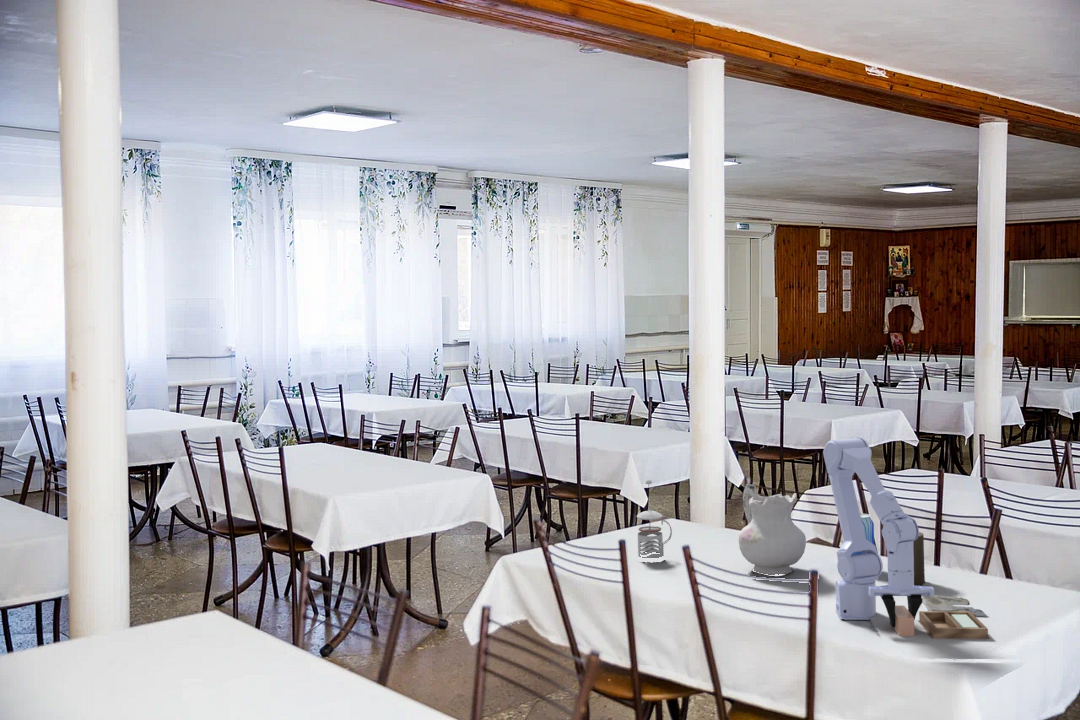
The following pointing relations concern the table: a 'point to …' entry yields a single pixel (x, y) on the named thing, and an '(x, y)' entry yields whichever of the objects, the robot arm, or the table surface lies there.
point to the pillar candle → (918, 560)
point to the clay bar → (903, 621)
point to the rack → (950, 625)
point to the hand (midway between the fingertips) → (901, 626)
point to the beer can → (867, 529)
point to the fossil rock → (949, 605)
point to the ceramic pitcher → (770, 533)
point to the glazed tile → (964, 621)
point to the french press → (649, 530)
